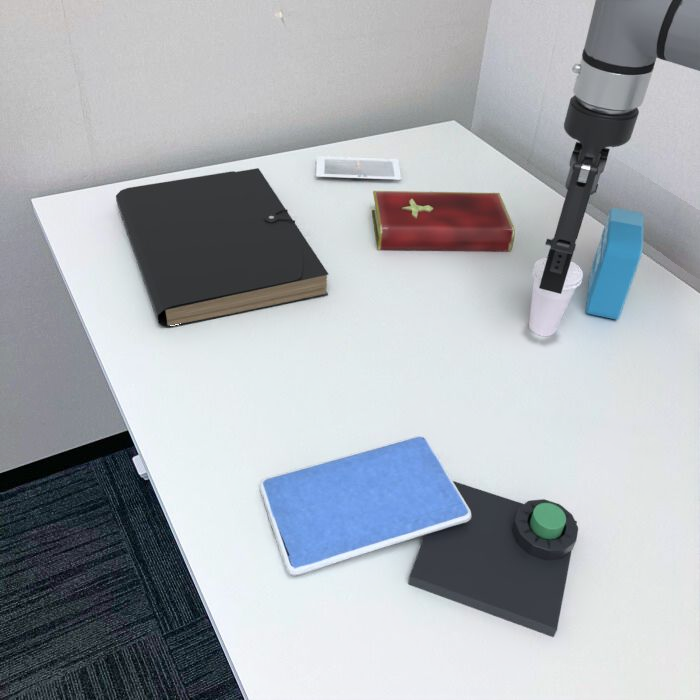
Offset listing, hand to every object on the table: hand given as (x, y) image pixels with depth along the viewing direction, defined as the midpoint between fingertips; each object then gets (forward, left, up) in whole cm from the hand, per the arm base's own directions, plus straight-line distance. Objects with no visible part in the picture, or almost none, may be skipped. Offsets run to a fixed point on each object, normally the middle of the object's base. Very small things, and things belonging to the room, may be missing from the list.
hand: (559, 261), depth 96 cm
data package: (-7, -11, -11) cm, 17 cm away
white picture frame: (+39, -31, -11) cm, 51 cm away
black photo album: (+49, +2, -11) cm, 51 cm away
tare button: (-6, +36, -8) cm, 37 cm away
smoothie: (0, 0, -11) cm, 11 cm away
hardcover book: (+20, -18, -11) cm, 29 cm away
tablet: (+12, +39, -10) cm, 42 cm away
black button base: (-2, +39, -11) cm, 41 cm away
